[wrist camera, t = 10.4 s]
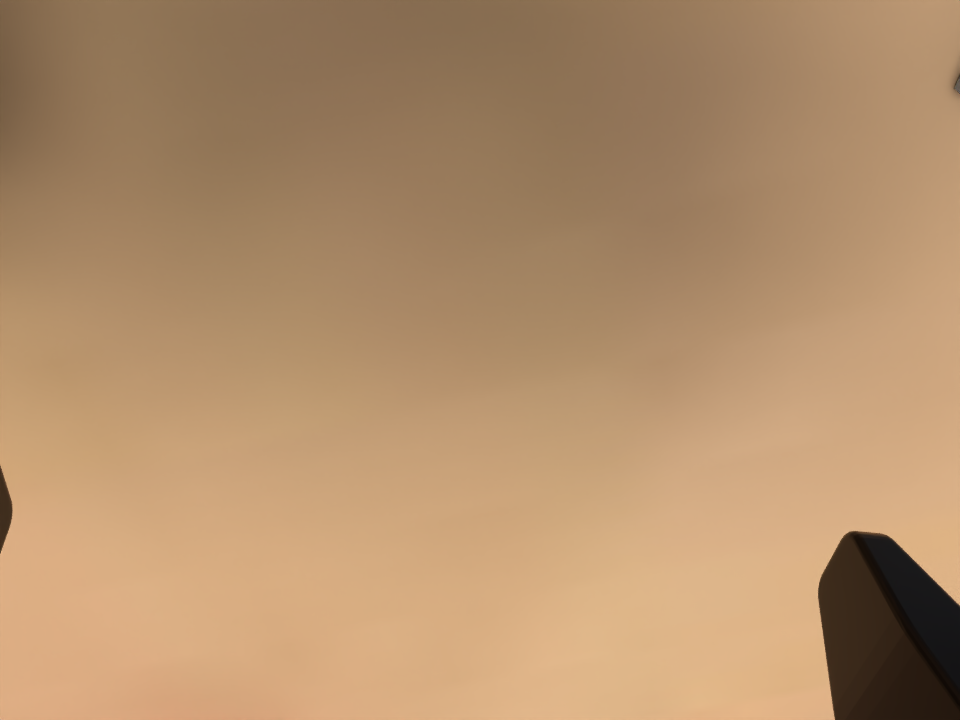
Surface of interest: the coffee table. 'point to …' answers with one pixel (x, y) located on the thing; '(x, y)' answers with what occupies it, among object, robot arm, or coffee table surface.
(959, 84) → the slate board
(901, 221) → the coffee table surface
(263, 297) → the coffee table surface
